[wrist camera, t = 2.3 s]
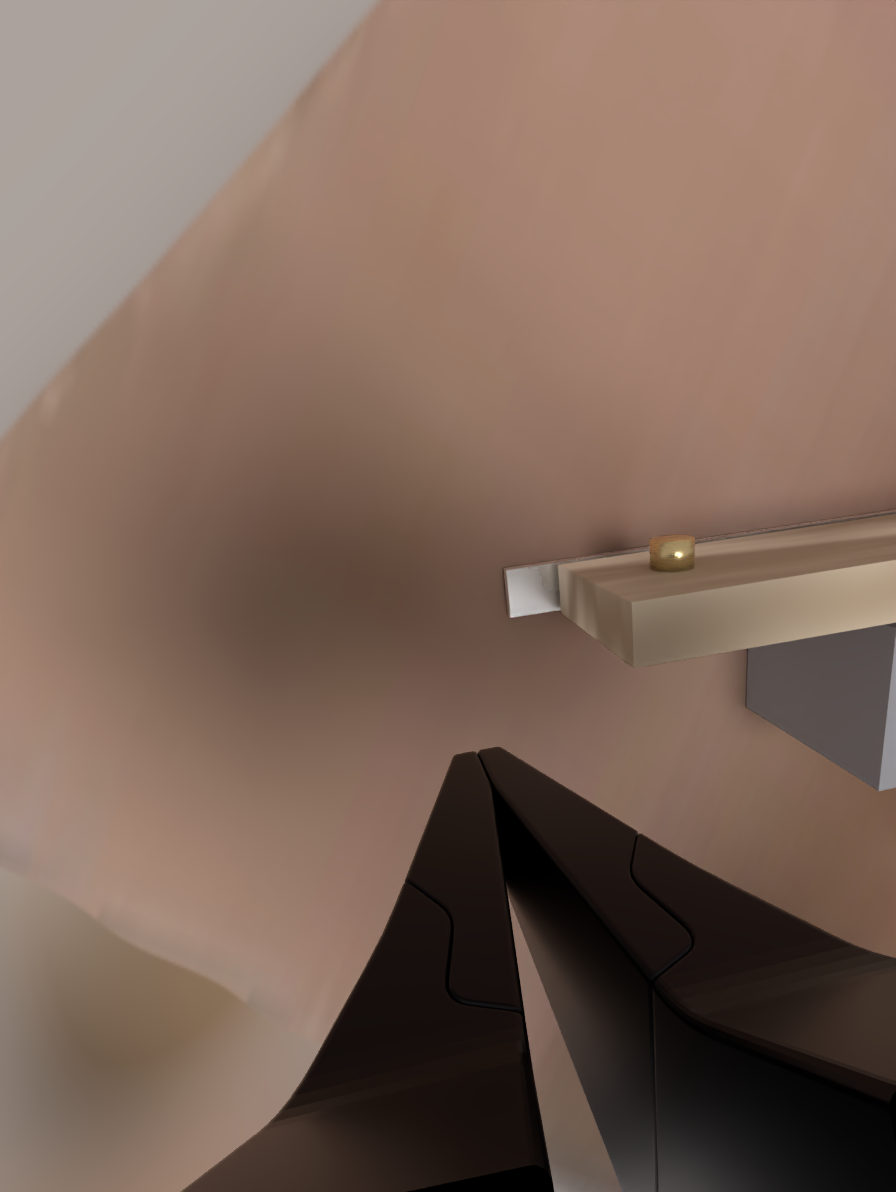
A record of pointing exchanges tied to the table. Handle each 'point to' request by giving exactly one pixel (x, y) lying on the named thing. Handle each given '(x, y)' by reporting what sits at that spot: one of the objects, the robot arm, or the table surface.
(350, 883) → the table surface
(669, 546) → the door
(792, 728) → the cabinet
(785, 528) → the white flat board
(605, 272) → the table surface
